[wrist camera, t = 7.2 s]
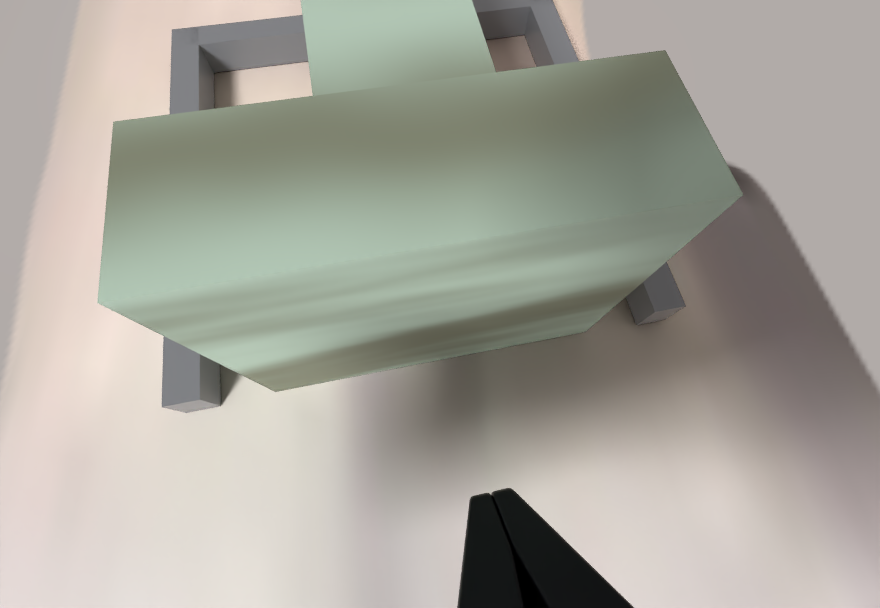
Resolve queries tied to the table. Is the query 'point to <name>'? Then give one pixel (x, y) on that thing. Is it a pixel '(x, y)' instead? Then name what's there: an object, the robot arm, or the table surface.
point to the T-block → (405, 200)
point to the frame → (283, 41)
